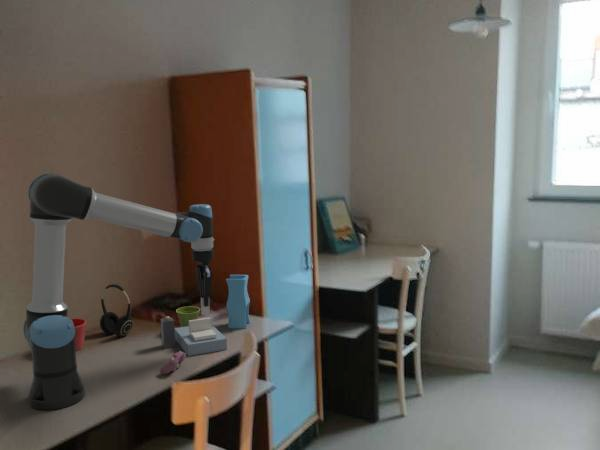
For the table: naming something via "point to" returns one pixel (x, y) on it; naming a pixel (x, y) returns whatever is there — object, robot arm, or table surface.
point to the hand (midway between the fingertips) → (205, 314)
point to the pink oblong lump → (173, 363)
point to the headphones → (116, 318)
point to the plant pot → (187, 315)
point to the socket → (199, 342)
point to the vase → (238, 301)
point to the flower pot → (79, 332)
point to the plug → (167, 332)
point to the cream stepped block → (201, 329)
